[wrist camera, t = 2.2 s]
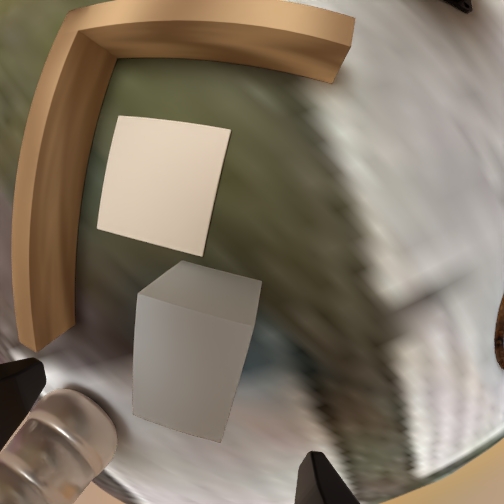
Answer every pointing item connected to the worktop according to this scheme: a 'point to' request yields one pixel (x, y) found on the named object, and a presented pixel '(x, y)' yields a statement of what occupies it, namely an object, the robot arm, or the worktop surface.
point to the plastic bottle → (57, 450)
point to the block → (192, 347)
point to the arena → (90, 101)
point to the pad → (162, 181)
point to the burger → (500, 336)
